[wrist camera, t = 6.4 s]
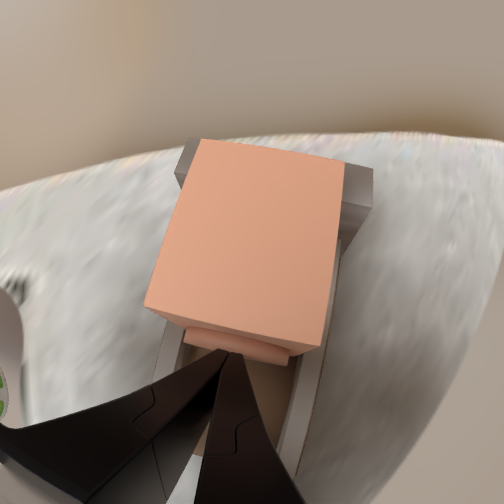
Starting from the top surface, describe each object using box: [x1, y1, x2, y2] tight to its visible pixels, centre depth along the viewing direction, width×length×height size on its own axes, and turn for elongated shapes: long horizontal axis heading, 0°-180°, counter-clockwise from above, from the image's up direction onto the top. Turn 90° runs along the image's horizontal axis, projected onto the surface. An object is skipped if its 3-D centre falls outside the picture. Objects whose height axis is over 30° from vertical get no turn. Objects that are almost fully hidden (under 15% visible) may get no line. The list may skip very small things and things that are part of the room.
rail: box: [151, 138, 373, 480], centre depth 14 cm, size 14×8×7 cm, turn 167°
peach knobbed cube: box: [143, 139, 345, 366], centre depth 13 cm, size 7×5×8 cm
